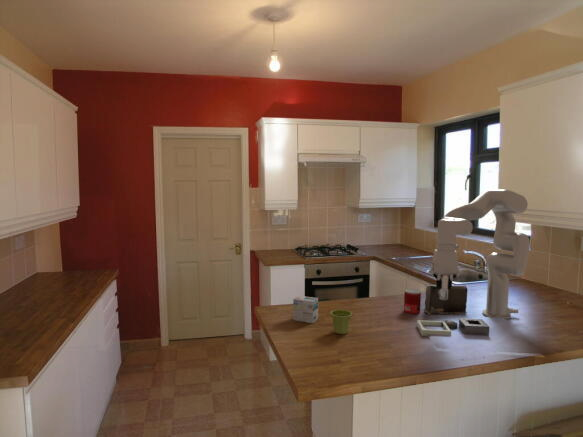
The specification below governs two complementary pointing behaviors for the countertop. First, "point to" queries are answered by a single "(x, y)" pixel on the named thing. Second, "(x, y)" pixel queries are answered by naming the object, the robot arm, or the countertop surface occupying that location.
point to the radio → (450, 306)
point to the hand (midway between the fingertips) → (443, 288)
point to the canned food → (412, 301)
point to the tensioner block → (473, 327)
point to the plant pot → (341, 320)
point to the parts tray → (427, 332)
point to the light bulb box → (305, 309)
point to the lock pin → (444, 286)
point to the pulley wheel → (450, 324)
